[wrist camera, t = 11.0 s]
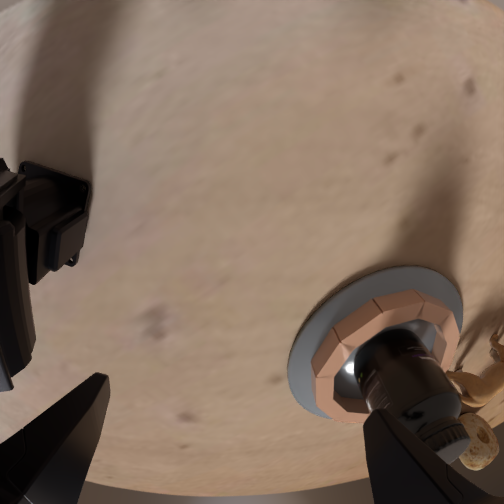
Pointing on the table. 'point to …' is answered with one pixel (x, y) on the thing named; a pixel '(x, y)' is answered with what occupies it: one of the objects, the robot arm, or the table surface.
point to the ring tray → (349, 305)
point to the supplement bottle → (412, 390)
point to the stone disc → (478, 442)
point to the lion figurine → (482, 379)
